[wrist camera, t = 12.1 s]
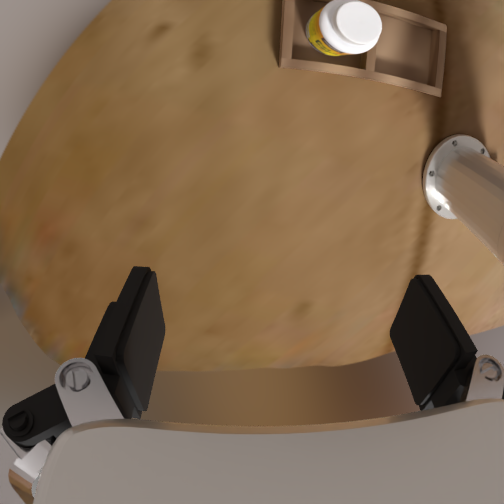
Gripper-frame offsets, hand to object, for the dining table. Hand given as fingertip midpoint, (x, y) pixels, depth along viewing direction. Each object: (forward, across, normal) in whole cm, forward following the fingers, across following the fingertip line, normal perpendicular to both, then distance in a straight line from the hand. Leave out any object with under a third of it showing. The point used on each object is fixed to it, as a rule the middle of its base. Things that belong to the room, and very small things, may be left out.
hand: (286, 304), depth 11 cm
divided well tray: (+28, -11, -13) cm, 33 cm away
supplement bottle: (+28, -7, -13) cm, 31 cm away
